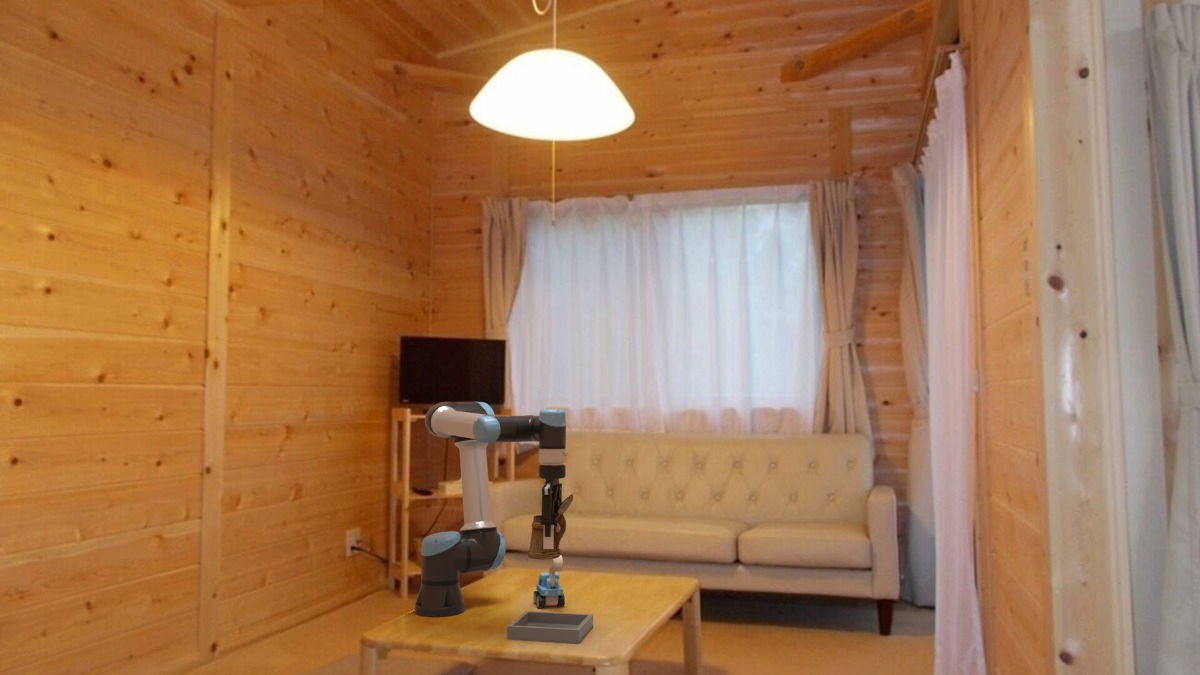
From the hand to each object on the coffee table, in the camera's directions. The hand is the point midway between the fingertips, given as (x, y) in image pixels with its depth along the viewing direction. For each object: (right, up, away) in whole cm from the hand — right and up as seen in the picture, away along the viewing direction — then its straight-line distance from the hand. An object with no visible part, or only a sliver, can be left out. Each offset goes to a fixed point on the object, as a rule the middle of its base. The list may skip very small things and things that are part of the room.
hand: (551, 546), depth 250 cm
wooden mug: (0, -3, -1) cm, 3 cm away
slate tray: (0, -24, -2) cm, 24 cm away
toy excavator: (-2, -26, +29) cm, 39 cm away
